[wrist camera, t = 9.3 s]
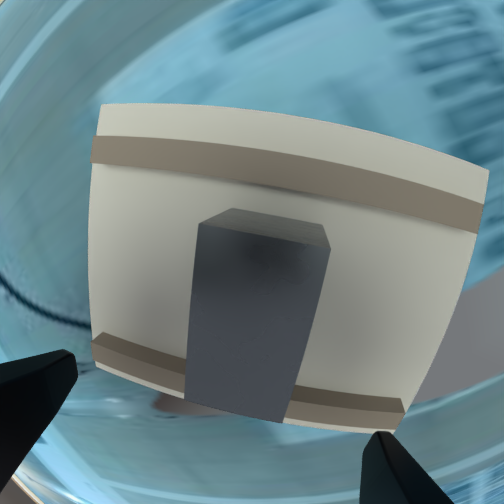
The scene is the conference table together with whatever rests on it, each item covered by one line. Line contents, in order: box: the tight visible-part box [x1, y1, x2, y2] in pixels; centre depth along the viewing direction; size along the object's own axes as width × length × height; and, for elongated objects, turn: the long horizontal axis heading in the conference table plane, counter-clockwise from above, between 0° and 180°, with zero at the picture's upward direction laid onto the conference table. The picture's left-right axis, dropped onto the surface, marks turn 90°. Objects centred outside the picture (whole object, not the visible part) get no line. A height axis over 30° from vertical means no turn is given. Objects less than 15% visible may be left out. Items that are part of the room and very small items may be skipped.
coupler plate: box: [88, 103, 489, 434], centre depth 16 cm, size 22×18×3 cm
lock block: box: [184, 208, 331, 423], centre depth 14 cm, size 4×8×5 cm, turn 171°
